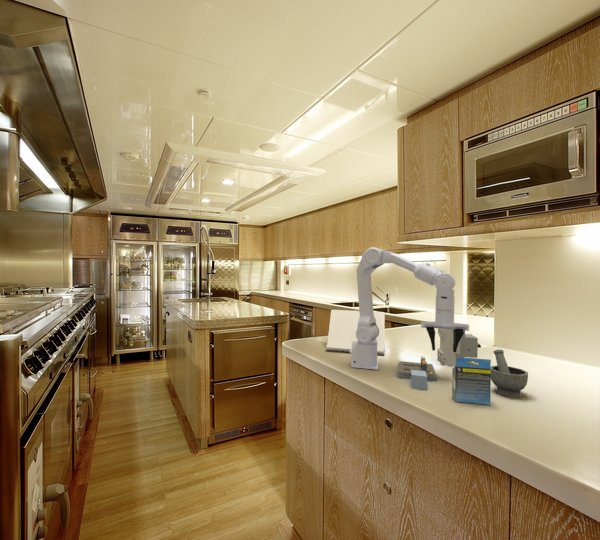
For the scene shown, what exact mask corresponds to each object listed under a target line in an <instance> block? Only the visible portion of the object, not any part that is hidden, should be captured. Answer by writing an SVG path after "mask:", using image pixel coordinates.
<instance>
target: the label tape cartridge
mask: <svg viewBox="0 0 600 540" xmlns="http://www.w3.org/2000/svg"><path fill="white" fill-rule="evenodd" d="M491 361H492V360H491V359H486V358H470V357H465V358H462V357H456V366H453V367H452V371H451V373H452V374H451V381H452V382H451V398H452V399H453V401H454V400H455V401H454V402H456V403H465V404H477V405H478V404H479V405H486V406H491V396H492V395H491V392H492V391H491V390H492V389H491V385H492V384H491V381H492V380H491V369H490V367H491V366H492V365H491ZM472 362H473V363H475V364H469V363H472ZM476 363H477V364H476Z"/></svg>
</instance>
